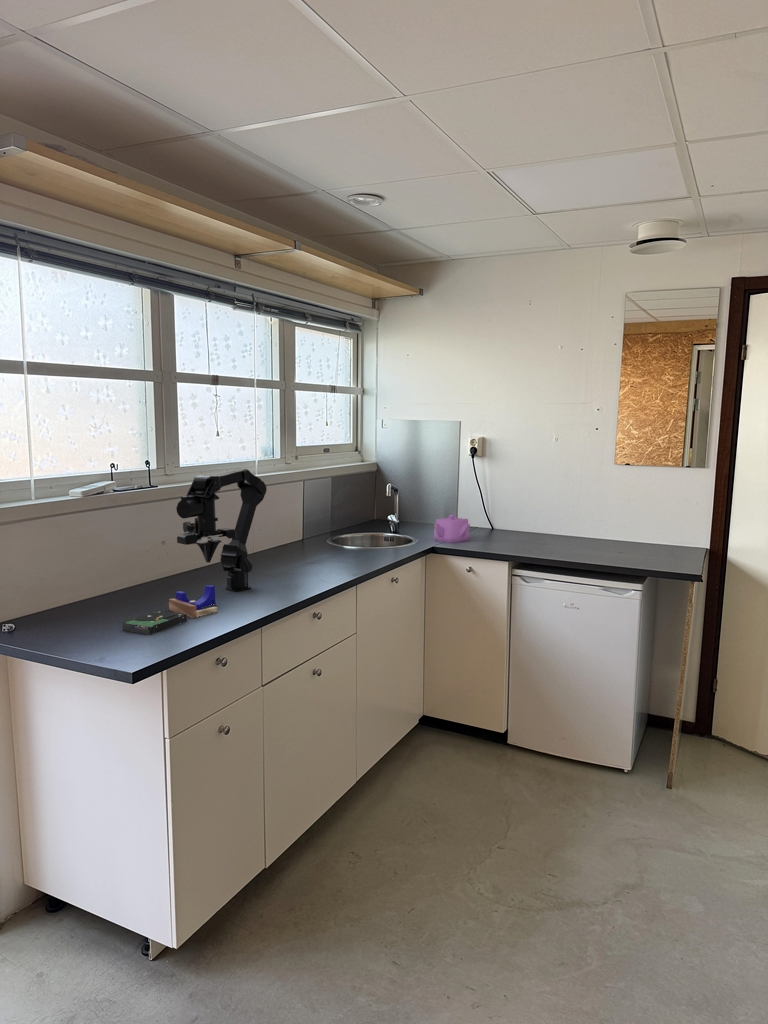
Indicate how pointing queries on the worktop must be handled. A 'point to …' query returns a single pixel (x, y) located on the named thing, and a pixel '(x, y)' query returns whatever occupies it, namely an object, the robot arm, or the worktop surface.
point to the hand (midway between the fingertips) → (208, 562)
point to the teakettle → (451, 529)
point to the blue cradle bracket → (204, 601)
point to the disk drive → (154, 622)
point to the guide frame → (189, 608)
